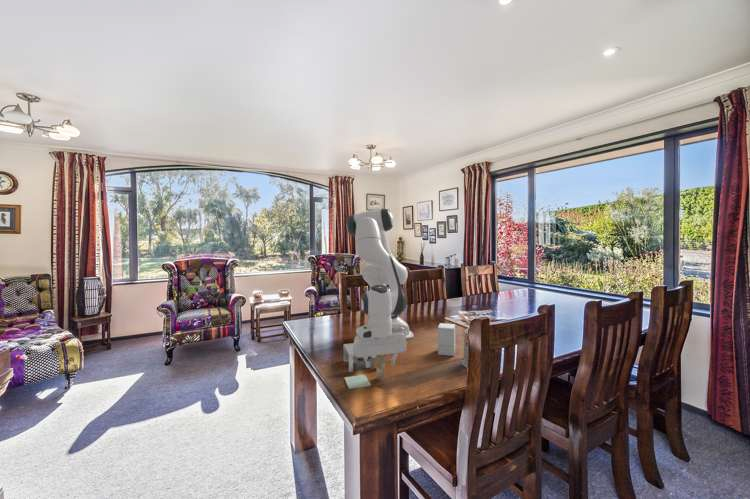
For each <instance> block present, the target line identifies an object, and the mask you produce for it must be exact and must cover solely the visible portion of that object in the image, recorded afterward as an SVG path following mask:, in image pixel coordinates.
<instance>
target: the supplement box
mask: <svg viewBox="0 0 750 499" xmlns="http://www.w3.org/2000/svg"><path fill="white" fill-rule="evenodd" d="M455 353H456V324H455V323H454V324H453V323H441V322H440V323H439V325H438V326H437V355H441V356H448V357H455Z"/></svg>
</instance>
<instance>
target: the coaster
mask: <svg viewBox="0 0 750 499" xmlns="http://www.w3.org/2000/svg"><path fill="white" fill-rule="evenodd" d="M344 380H345V384H346V385H347V388H348V390H351V389H357V388H358V389H359V388H364V387H365V388H366V387H371V385H372V384H371V382H370V380H369V379H368V377H367V376H366V374H361V375H359V374H358V375H352V376H346V377H344Z"/></svg>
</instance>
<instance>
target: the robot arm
mask: <svg viewBox="0 0 750 499" xmlns="http://www.w3.org/2000/svg"><path fill="white" fill-rule="evenodd" d="M394 221H395V219H394V216H393V213H392V212H391V210H390V209H388V208H381V209H371V210H367V211H363V212H358V213H354V214H352V215H349V216H348V218H346V230H347V232H348V234H349V235H350V236H352V237H355V249H356V250H355V251H356V254H357V256H358V257H359V259H360V260H362V261H363V262H364V263H366V264H365V265H364V266H363V267H362V270H361V276H362V278H363V280H364V281H365V282H366V283H367V284H368V286H369V287H370V288H369V290H368V291H365V292H364V293H362V295H361V296H360V312H362V313H363V314H365V315H366V316H369V317H368V321H367V322H368V323H366V324H364V325H362V326H358V327H357V328H356V330H355V332H356V336H355V337H354V339H353V343H354V346H353V353H354V355H355V356H356V357H357V358H359V357H363V359H364V360H365V362H366V367H367V368H366V369H371V368H370V367H371V366H370V365H371V363H370V361H367V360H366V359H368V356H376V355H384V356H385V355H391V354H392V357H391V358H389V364H390V365H391V366H392V365H393V366H394V365H395V364H396V363H395V361H396V359H397V357H398V355H399V354H401V353H405V352H406V351H407V340H408V339H409V340H410V339H413V338H414V333H413V332H412V331H411V330H410V327H409V324H408V323H407V322H406V321H405V320H403V319H402V318H401V317H399V316H402V314H403V312H404V311H405V310H406V308H407V304H408V303H407V297H406V295H405V292H404V290H403V287H402V285H403V284H405V283H406V282H407V279H408V278H409V274H408V273H409V272H408V269H407V268H406V266H404V265H403V264H402V263H401V262H400V261H398V260H397V259H396V257H395V256H394V254H393V253H392V251H391V247H390V246H391V245H390V244H389V237H388V234H387V232H388V231H390V230H392V229H393V227H394V223H395V222H394ZM387 285H388V286H387ZM398 353H399V354H398Z"/></svg>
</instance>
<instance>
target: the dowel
mask: <svg viewBox="0 0 750 499" xmlns="http://www.w3.org/2000/svg"><path fill="white" fill-rule="evenodd" d="M375 359H376V381H379V382H382V381H385V373H386V372H385V354H384V355H376V358H375Z"/></svg>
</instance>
